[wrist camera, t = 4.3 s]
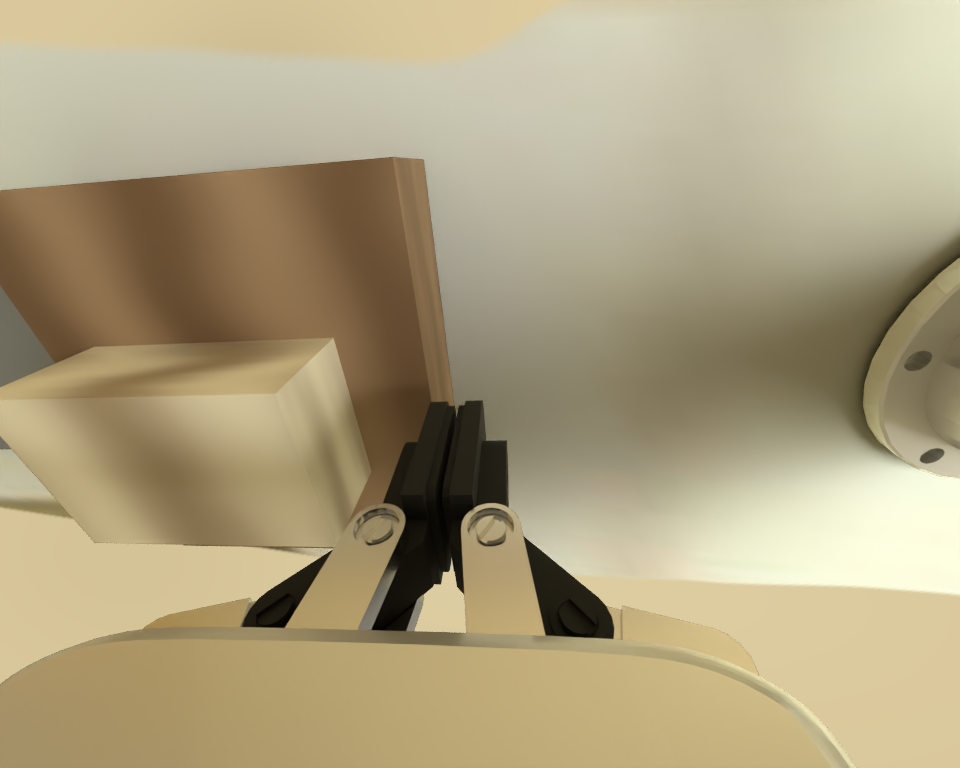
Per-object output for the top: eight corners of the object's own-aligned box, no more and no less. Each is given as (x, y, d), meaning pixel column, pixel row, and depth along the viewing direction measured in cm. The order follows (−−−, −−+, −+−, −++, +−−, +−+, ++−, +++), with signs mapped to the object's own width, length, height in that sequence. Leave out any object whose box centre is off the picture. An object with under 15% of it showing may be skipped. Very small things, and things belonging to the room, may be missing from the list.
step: (423, 159, 13) (392, 157, 10) (464, 487, 21) (455, 550, 18) (72, 188, 15) (-63, 195, 11) (233, 487, 23) (183, 545, 19)
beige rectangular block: (333, 337, 13) (275, 393, 10) (371, 471, 16) (336, 547, 12) (94, 347, 13) (-32, 400, 10) (173, 471, 16) (94, 542, 13)
